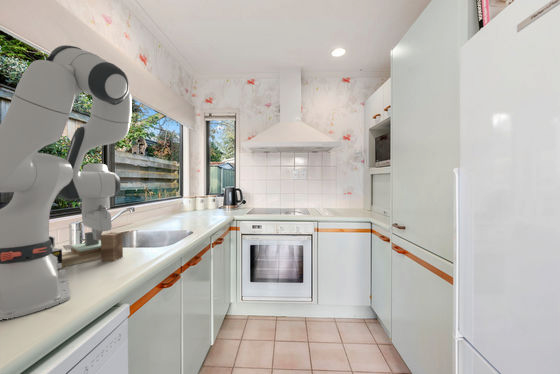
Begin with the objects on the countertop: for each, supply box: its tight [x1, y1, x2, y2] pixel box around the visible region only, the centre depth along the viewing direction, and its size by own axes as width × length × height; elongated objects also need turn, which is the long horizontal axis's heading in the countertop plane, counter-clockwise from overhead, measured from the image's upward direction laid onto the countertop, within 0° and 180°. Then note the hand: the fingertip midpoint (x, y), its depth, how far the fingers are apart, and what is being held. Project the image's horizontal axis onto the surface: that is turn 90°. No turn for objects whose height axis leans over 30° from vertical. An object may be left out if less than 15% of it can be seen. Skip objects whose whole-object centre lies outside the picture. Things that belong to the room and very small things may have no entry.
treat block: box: [100, 232, 124, 262], centre depth 99 cm, size 5×5×10 cm
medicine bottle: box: [49, 235, 63, 269], centre depth 88 cm, size 7×7×12 cm
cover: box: [70, 231, 101, 252], centre depth 103 cm, size 11×11×6 cm
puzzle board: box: [62, 247, 101, 268], centre depth 100 cm, size 12×18×4 cm, turn 143°
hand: (97, 239), depth 99 cm, fingers closed
